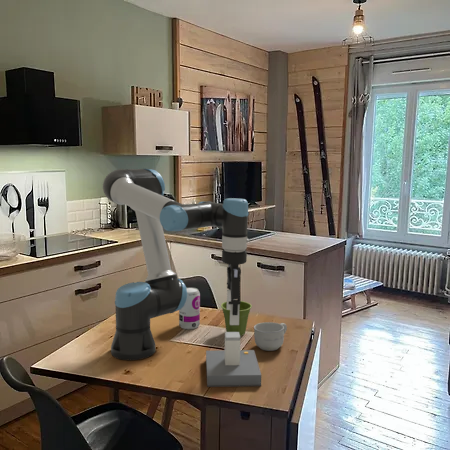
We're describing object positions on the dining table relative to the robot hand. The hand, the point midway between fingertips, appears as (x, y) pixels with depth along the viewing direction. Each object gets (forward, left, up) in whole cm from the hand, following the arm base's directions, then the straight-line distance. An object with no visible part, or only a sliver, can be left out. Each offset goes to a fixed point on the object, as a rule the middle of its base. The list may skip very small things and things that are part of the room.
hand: (232, 316), depth 144 cm
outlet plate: (0, 0, -18) cm, 18 cm away
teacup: (+16, +20, -19) cm, 32 cm away
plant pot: (+4, +33, -19) cm, 38 cm away
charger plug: (0, 0, -18) cm, 18 cm away
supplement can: (-14, +41, -19) cm, 47 cm away
